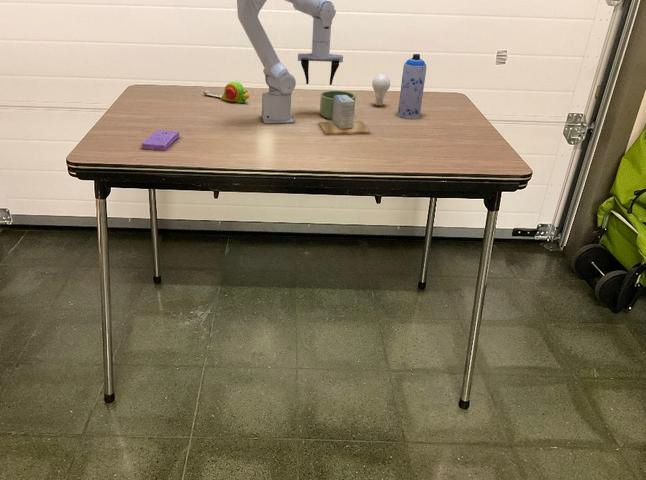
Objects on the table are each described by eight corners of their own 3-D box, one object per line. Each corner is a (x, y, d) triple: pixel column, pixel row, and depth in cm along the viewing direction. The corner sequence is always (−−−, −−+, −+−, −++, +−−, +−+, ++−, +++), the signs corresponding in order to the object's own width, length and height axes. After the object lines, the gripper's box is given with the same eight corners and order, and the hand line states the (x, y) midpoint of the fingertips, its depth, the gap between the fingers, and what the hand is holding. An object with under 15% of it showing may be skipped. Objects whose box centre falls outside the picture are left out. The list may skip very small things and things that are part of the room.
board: (325, 135, 188) (325, 132, 187) (318, 124, 197) (318, 121, 197) (369, 133, 190) (369, 131, 189) (360, 123, 199) (360, 120, 199)
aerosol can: (413, 111, 212) (421, 51, 202) (424, 117, 206) (433, 56, 196) (393, 112, 210) (400, 52, 200) (403, 119, 204) (411, 57, 194)
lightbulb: (382, 109, 214) (385, 77, 208) (366, 106, 217) (369, 74, 211) (391, 105, 218) (394, 74, 212) (375, 102, 221) (378, 71, 215)
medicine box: (353, 128, 191) (355, 101, 187) (339, 129, 190) (341, 101, 186) (344, 121, 198) (346, 94, 193) (331, 121, 197) (333, 94, 192)
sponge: (179, 137, 182) (179, 131, 182) (165, 151, 172) (164, 144, 171) (157, 135, 183) (156, 129, 182) (141, 149, 173) (140, 142, 172)
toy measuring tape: (243, 105, 212) (242, 86, 209) (199, 96, 221) (199, 77, 218) (253, 101, 217) (253, 82, 214) (210, 92, 226) (210, 74, 223)
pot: (323, 121, 200) (325, 100, 196) (316, 111, 209) (317, 90, 206) (357, 120, 201) (359, 99, 198) (349, 110, 211) (350, 90, 207)
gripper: (343, 39, 197) (340, 81, 204) (299, 37, 198) (297, 80, 205) (344, 43, 191) (341, 87, 198) (298, 41, 192) (296, 85, 199)
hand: (319, 83), depth 201 cm, fingers open, 7 cm apart
